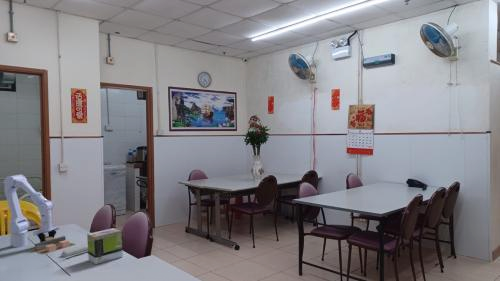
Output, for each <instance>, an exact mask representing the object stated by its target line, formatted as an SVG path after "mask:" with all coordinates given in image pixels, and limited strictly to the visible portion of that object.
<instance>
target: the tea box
mask: <svg viewBox="0 0 500 281" xmlns="http://www.w3.org/2000/svg"><path fill="white" fill-rule="evenodd" d="M86 236H87V238H86V239H87V243H88V253H87V256H88V257H87V258H88V261H90V262H91V263H92V264H94V265H97V264H101V263H105V262H108V261H111V260H115V259H119V258H123V257H124V256H123V255H124V254H123V239H122V231H121V230H120V229H117V228H114V227H112V228H108V229H103V230H100V231H94V232H90V233H87V234H86Z"/></svg>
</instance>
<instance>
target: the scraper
mask: <svg viewBox="0 0 500 281" xmlns="http://www.w3.org/2000/svg"><path fill="white" fill-rule="evenodd" d="M64 240H67V239H66V236H65V235H62V236H59V237H54V239H53V237H50V236H49V235H46V236H45V241H44V242H41V241H40V240H39V242H38V243H37V242H36V243H34V247H35V251H40V250H43V249H45V246H47V245H50V244H55V245H56V246H57V245H59V242H61V241H64Z"/></svg>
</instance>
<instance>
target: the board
mask: <svg viewBox="0 0 500 281" xmlns="http://www.w3.org/2000/svg"><path fill="white" fill-rule="evenodd" d="M75 245H77V244H76V243H72V242H69V246H68V247H65V248H69V247H72V246H75ZM65 248H61V247H59V245H57V246H56V250H55V251H52V252H47V251H45V249H43V250H40V251H35V246H34V247H29V248H27V249H25V251H29V252H32V253H36V254H40V255H46V254H50V253H53V252H56V251H59V250H62V249H63V250H64V249H65Z"/></svg>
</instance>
